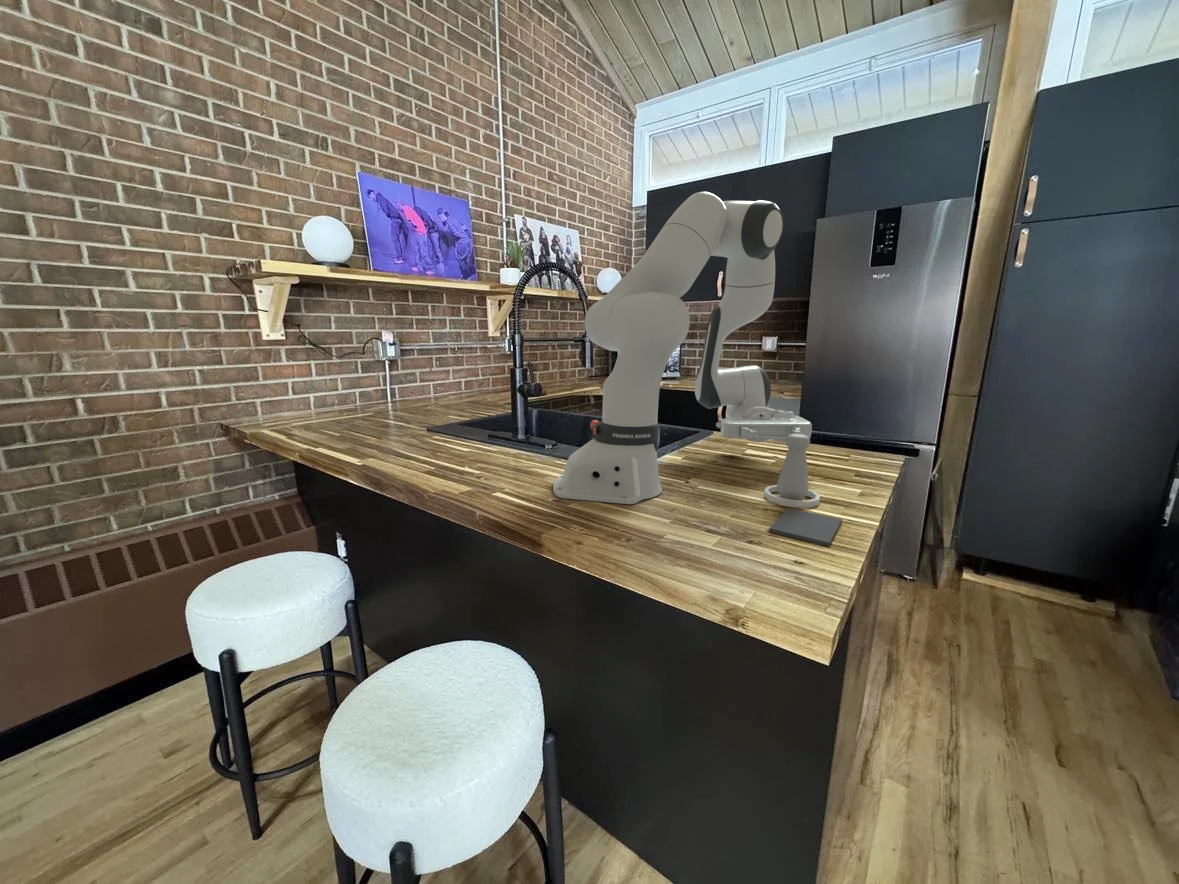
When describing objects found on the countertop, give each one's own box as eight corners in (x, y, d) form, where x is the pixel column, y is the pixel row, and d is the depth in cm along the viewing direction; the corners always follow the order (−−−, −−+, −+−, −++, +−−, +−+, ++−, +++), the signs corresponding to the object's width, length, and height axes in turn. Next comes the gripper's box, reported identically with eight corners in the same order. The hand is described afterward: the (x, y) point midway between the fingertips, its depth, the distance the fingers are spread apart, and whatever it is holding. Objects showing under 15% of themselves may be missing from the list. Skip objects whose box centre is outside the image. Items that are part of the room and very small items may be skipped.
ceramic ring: (774, 506, 89) (775, 500, 89) (757, 489, 99) (758, 484, 99) (828, 508, 89) (829, 502, 89) (805, 491, 99) (806, 485, 98)
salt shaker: (810, 504, 91) (818, 438, 88) (778, 502, 92) (785, 437, 89) (803, 495, 96) (810, 432, 93) (773, 492, 97) (780, 431, 94)
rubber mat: (829, 546, 73) (829, 542, 73) (769, 531, 78) (769, 528, 78) (841, 522, 82) (842, 519, 82) (787, 510, 87) (788, 507, 87)
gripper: (714, 410, 117) (729, 421, 103) (798, 411, 116) (823, 421, 103) (713, 435, 118) (727, 449, 105) (795, 436, 118) (820, 449, 104)
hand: (776, 435), depth 104 cm, fingers open, 8 cm apart
